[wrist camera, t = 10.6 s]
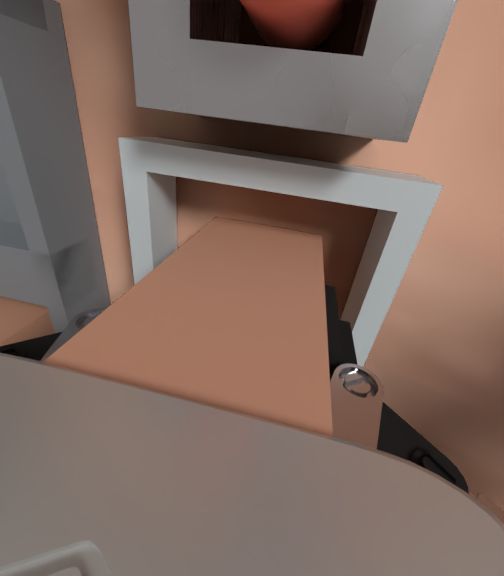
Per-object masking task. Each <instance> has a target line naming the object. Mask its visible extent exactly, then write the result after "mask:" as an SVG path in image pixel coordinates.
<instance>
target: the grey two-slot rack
mask: <svg viewBox="0 0 504 576" xmlns="http://www.w3.org/2000/svg"><path fill="white" fill-rule="evenodd" d="M0 296H2V297H7V298H11V299H15V300H20V301H24V302H28V303H33V304H37V305H41V306H46V307H47V309H48V312H49V315H50V318H51V322H52V325H53V328H54V331H55V333H59V332H63V330H64V329H65V328H66V327H67V325H68V324H69V323H70V321H71V320H72V319H73V318H74V317H75V316H76V315H78V314H80V313H81V312H84V311H87V310H90V309H95V308H108V307H109V306H110V305H111V304H110V298H109V292H108V286H107V280H106V274H105V268H104V263H103V257H102V251H101V245H100V239H99V233H98V227H97V221H96V215H95V210H94V204H93V198H92V192H91V186H90V180H89V174H88V168H87V162H86V157H85V151H84V145H83V139H82V133H81V127H80V121H79V115H78V109H77V104H76V98H75V92H74V86H73V80H72V74H71V68H70V62H69V56H68V51H67V45H66V39H65V33H64V27H63V21H62V15H61V9H60V3H58V2H56V1H54V0H0Z"/></svg>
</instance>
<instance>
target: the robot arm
mask: <svg viewBox="0 0 504 576" xmlns="http://www.w3.org/2000/svg"><path fill="white" fill-rule="evenodd" d="M325 301H326V319H327V337H328V355H329V373H330V391H331V409H332V427H333V437H332V436H329V435H325V434H322V433H318V432H314V431H310V430H306V429H303V428H299V427H295V426H291V425H287V424H284V423H280V422H276V421H272V420H268V419H265V418H261V417H257V416H253V415H249V414H246V413H242V412H238V411H234V410H230V409H226V408H223V407H219V406H215V405H211V404H207V403H203V402H199V401H195V400H191V399H188V398H184V397H180V396H176V395H172V394H168V393H164V392H160V391H156V390H153V389H149V388H145V387H141V386H137V385H133V384H129V383H125V382H121V381H117V380H113V379H109V378H105V377H101V376H97V375H93V374H89V373H85V372H81V371H77V370H73V369H69V368H65V367H61V366H57V365H53V364H49V363H45V362H44V361H45V360H46V359H47V358H48V357H49V356H51V355H52V354H53V353H54V352H55V351H57V350H58V349H59V348H60V347H61V346H63V345H64V344H65V343H66V342H67V341H69V340H70V339H71V338H72V337H73V336H75V335H76V334H77V333H78V332H79V331H81V330H82V329H83V328H84V327H85V326H86V325H88V324H89V323H90V322H91V321H92V320H94V319H95V318H96V317H97V316H98V315H100V314H101V313H102V312H103V311H104V310H106V309H107V308H95V309H90V310H87V311H84V312H81V313H80V314H78V315H76V316H75V317H74V318H73V319H72V320H71V321H70V323H69V324H68V325H67V327H66V328H65V329H64V330H63V332H59V333H55V334H50V335H46V336H42V337H38V338H33V339H29V340H25V341H21V342H16V343H12V344H8V345H4V346H0V576H504V512H503V511H502V510H501V509H500V508H498V507H497V506H496V505H495V504H493V503H492V502H491V501H490V500H488V499H487V498H486V497H485V496H483V495H482V494H481V493H479V494H478V495H477V496H476V495H474V494H473V493H472V492H471V491H469V490H468V486H467V484H466V482H465V479H464V477H463V476H462V474H461V473H460V471H459V470H458V468H457V467H456V466H455V465H454V464H453V463H452V462H451V461H450V460H449V459H448V458H447V457H446V456H444V455H443V454H442V453H441V452H440V451H439V450H438V449H436V448H435V447H434V446H433V445H432V444H431V443H430V442H428V441H427V440H426V439H425V438H424V437H423V436H421V435H420V434H419V433H418V432H417V431H416V430H415V429H413V428H412V427H411V426H410V425H409V424H408V423H407V422H405V421H404V420H403V419H402V418H401V417H400V416H398V415H397V414H396V413H395V412H394V411H393V410H392V409H390V408H389V407H388V406H387V405H386V404H385V403H384V402H383V395H384V389H383V385H382V383H381V381H380V380H379V379H378V377H377V376H376V375H375V374H373V373H372V372H371V371H370V370H368V369H366V368H364V367H362V366H359V365H358V364H357V358H356V353H355V347H354V342H353V336H352V330H351V325H350V322H348V321H343V320H339V318H338V310H337V301H336V293H335V287H333V286H328V285H325Z"/></svg>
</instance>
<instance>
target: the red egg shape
mask: <svg viewBox="0 0 504 576" xmlns="http://www.w3.org/2000/svg"><path fill="white" fill-rule="evenodd" d="M240 1H241V3H242V5H243V7H244V8H245V10H246V12H247V14H248V15H249V17H250V19H251V21H252V22H253V24H254V26H255V28H256V29H257V31H258V33H259V34H260V36H261V37H262V38H263V39H264V41H265V42H266V43H267V44H269V45H270V46H271V47H277V48H286V49H296V50H306V51H308V50H310V49H313V48H315V47H316V46H318V45H319V44H320V43H322V42H323V41H324V40H325V39H326V38H327V37H328V36H329V35H330V34H331V33H332V32H333V30H334V29H335V28H336V26H337V25H338V23H339V21H340V20H341V18H342V16H343V14H344V12H345V9H346V7H347V4H348V1H349V0H240Z"/></svg>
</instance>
